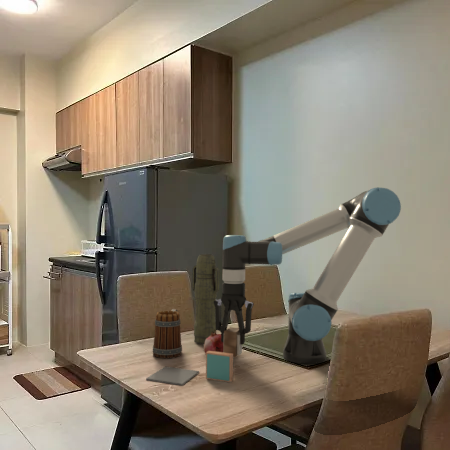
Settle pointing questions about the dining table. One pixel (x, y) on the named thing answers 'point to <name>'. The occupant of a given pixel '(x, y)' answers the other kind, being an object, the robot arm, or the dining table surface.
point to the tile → (219, 366)
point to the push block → (231, 340)
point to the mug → (167, 335)
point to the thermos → (205, 296)
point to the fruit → (214, 343)
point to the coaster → (173, 375)
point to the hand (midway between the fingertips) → (232, 352)
